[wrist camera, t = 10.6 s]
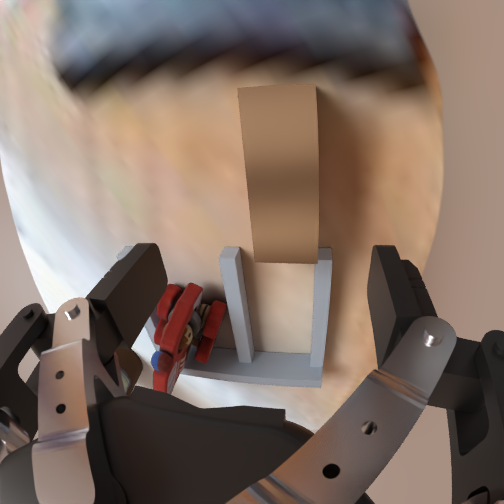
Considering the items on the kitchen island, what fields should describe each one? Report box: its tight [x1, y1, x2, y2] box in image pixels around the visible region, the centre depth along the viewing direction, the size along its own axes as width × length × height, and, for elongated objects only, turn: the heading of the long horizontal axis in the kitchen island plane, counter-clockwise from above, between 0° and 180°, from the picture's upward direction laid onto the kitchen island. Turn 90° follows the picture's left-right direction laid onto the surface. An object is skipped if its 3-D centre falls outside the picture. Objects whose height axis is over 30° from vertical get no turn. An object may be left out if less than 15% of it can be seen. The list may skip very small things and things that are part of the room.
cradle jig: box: [117, 246, 332, 388], centre depth 31 cm, size 16×22×4 cm
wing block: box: [237, 84, 319, 264], centre depth 21 cm, size 12×4×6 cm, turn 5°
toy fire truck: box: [151, 283, 227, 395], centre depth 30 cm, size 7×12×10 cm, turn 163°
